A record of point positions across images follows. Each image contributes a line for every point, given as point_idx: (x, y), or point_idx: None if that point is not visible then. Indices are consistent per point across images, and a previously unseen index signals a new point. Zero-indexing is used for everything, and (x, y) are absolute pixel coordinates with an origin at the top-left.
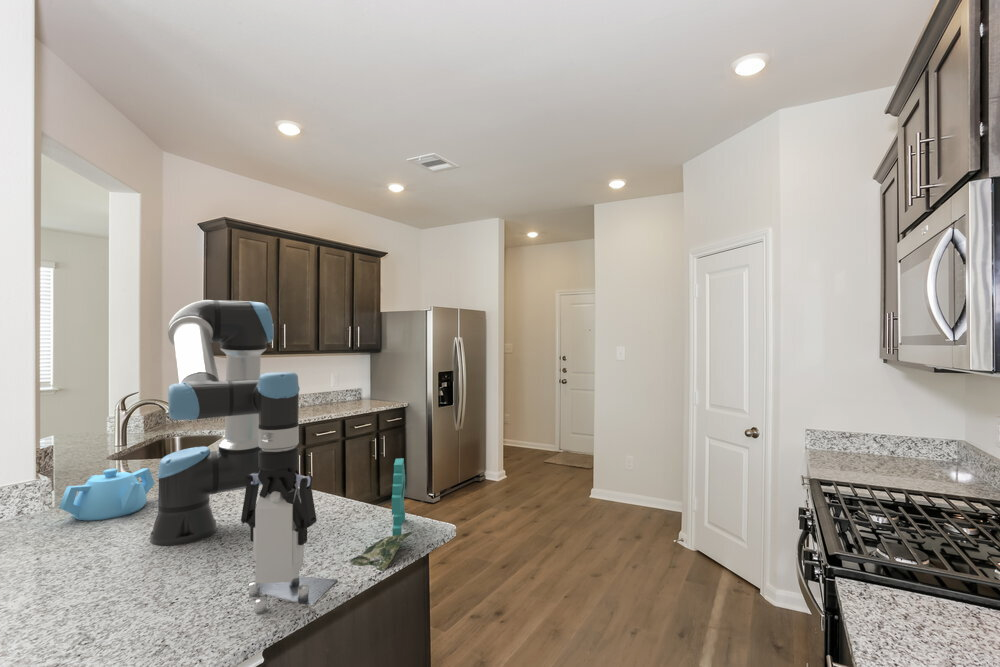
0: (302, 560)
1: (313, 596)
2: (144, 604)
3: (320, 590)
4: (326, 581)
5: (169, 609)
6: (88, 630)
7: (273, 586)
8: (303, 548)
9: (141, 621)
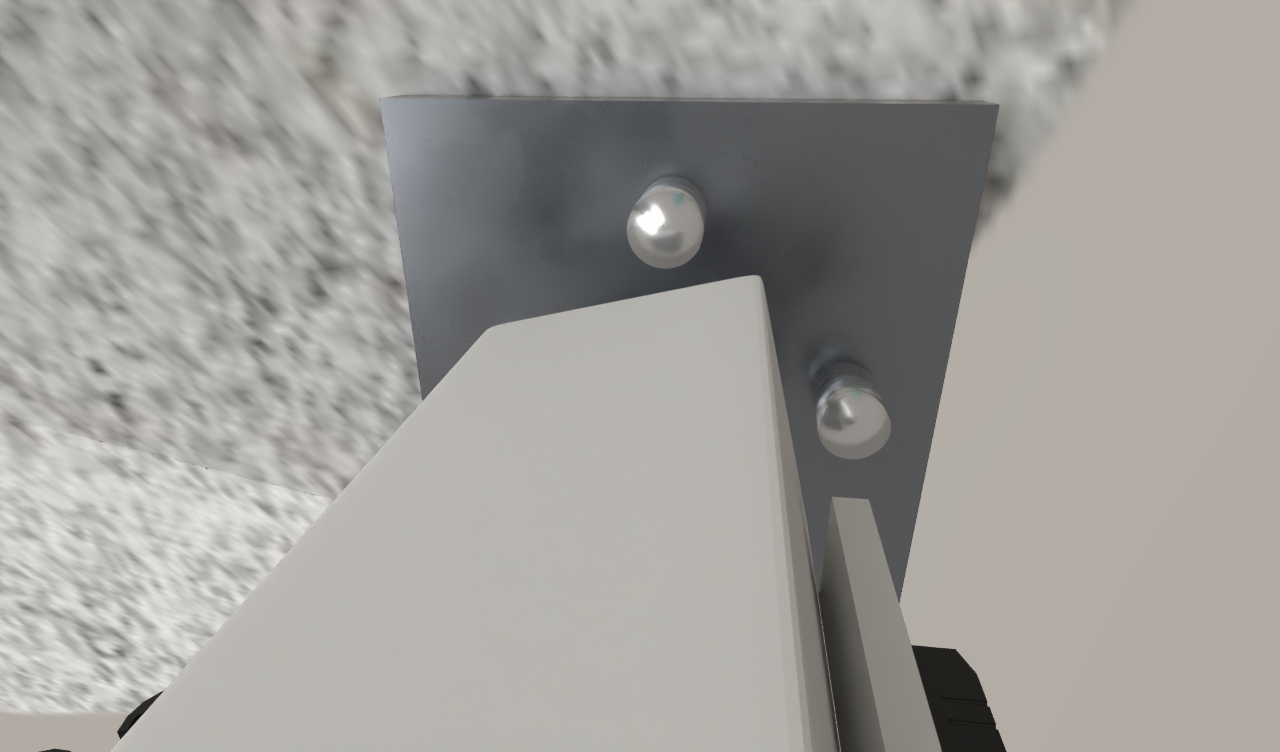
0: (768, 316)
1: (897, 355)
2: (11, 427)
3: (917, 281)
4: (913, 151)
5: (163, 452)
6: (33, 594)
7: (555, 272)
8: (883, 558)
9: (151, 537)
